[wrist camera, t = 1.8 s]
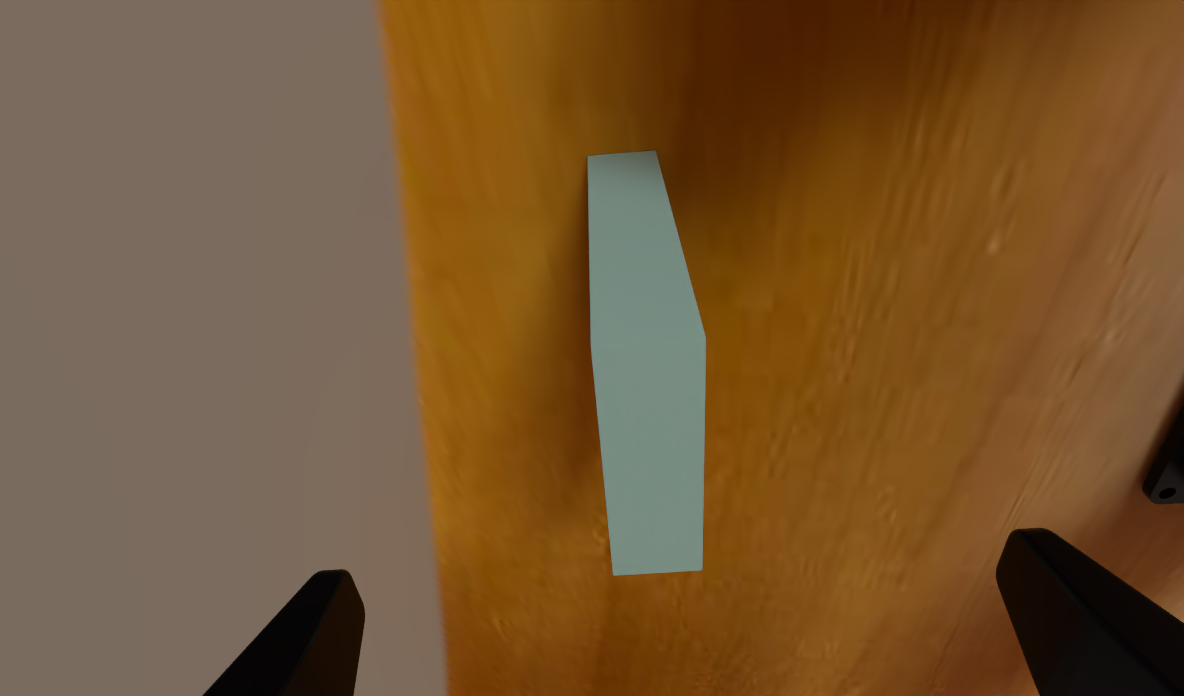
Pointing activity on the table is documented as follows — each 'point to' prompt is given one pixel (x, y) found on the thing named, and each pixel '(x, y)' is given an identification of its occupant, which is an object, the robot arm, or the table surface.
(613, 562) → the sage domino
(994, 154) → the table surface
